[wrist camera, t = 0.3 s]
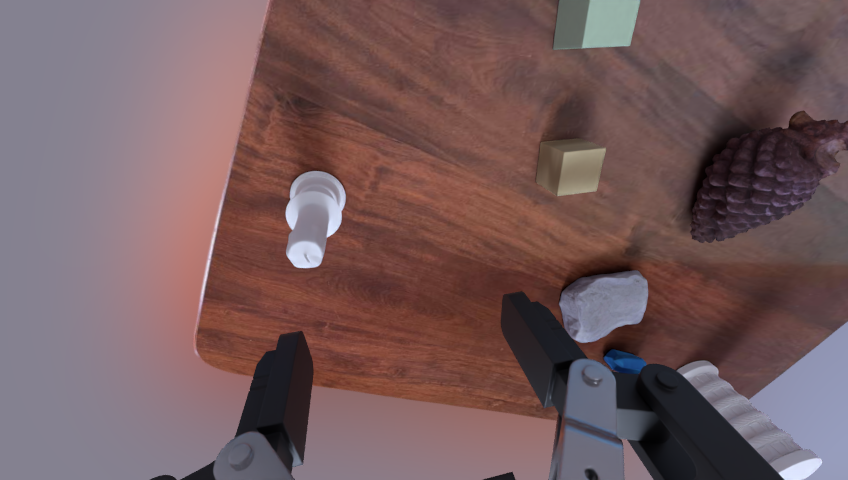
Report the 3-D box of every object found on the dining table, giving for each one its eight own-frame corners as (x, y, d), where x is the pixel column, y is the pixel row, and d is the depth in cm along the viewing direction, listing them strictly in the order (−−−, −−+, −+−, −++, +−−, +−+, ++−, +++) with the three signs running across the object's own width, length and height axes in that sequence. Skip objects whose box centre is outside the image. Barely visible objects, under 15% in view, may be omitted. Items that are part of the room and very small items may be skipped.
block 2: (540, 141, 35) (564, 152, 31) (578, 138, 35) (606, 147, 31) (535, 182, 37) (556, 196, 33) (571, 177, 38) (596, 191, 34)
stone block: (550, 279, 47) (562, 334, 50) (570, 294, 43) (581, 353, 46) (623, 250, 48) (630, 306, 51) (650, 262, 43) (656, 322, 47)
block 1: (560, -11, 28) (593, -22, 24) (606, -12, 29) (646, -23, 25) (552, 49, 30) (581, 48, 27) (595, 47, 31) (630, 45, 27)
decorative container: (704, 351, 62) (821, 448, 47) (718, 374, 67) (827, 468, 52) (651, 386, 64) (746, 489, 49) (669, 405, 70) (760, 503, 54)
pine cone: (715, 234, 47) (741, 278, 39) (649, 204, 48) (661, 241, 40) (854, 118, 35) (928, 147, 28) (763, 82, 37) (810, 101, 29)
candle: (356, 196, 34) (360, 257, 23) (320, 229, 34) (308, 302, 24) (316, 159, 31) (299, 208, 21) (278, 195, 32) (244, 260, 22)
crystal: (639, 368, 47) (699, 396, 50) (608, 330, 55) (661, 356, 58) (605, 401, 50) (664, 426, 52) (580, 360, 58) (632, 383, 60)
